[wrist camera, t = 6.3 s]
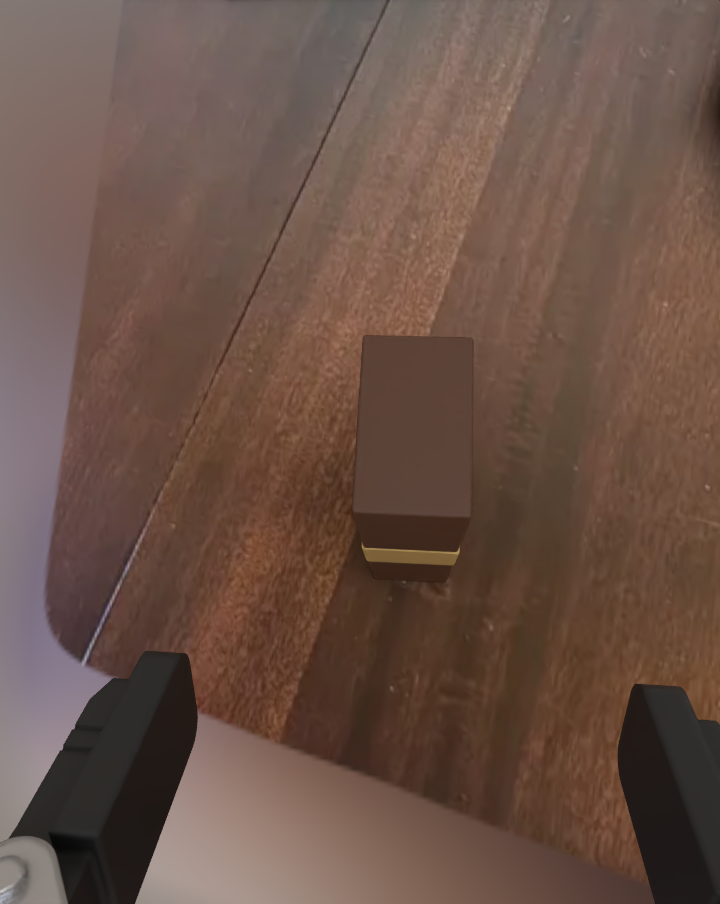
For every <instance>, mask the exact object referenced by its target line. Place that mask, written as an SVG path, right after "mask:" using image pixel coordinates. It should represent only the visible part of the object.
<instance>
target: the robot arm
mask: <svg viewBox="0 0 720 904" xmlns="http://www.w3.org/2000/svg"><path fill="white" fill-rule="evenodd" d="M197 719H198V716H197V706H196V699H195V693H194V686H193V680H192V673H191V667H190V661H189V657H188V655H187V654H186V653H173V652H157V651H146V652H144V653H143V654H142V655H141V657H140V659H139V661H138V663H137V664H136V666H135V668H134V670H133V672H132V674H131V676H130V678H129V679H117V678H113V679H112V680H111V681H110V682H108V684H106V685H105V686H104V687H103V688H102V689H101V690H100V691H98V692H97V693H96V694H95V695H94V696H93V697H92V698H91V699H90V700H89V701H88V703H87V705H86V707H85V708H84V710H83V712H82V714H81V715H80V717H79V719H78V721H77V722H76V724H75V729H74V730H72V731H71V733H70V735H69V736H68V738H67V740H66V741H65V743H64V746H63V750H62V751H60V752H59V754H58V755H57V757H56V759H55V761H54V762H53V764H52V766H51V768H50V769H49V771H48V773H47V774H46V776H45V778H44V780H43V781H42V783H41V785H40V787H39V788H38V790H37V792H36V794H35V795H34V797H33V799H32V801H31V803H30V804H29V806H28V808H27V809H26V811H25V813H24V815H23V816H22V818H21V820H20V822H19V823H18V825H17V827H16V828H15V830H14V831H13V833H12V834H11V836H10V837H9V839H7V840H4V841H2V842H0V904H135V902H136V899H137V896H138V893H139V891H140V888H141V885H142V883H143V880H144V877H145V875H146V872H147V869H148V867H149V864H150V861H151V859H152V856H153V853H154V851H155V848H156V845H157V842H158V840H159V837H160V834H161V832H162V829H163V826H164V824H165V821H166V818H167V815H168V813H169V810H170V807H171V805H172V802H173V799H174V797H175V794H176V791H177V788H178V786H179V783H180V780H181V778H182V775H183V772H184V770H185V767H186V764H187V761H188V759H189V756H190V753H191V751H192V748H193V744H194V741H195V737H196V731H197ZM618 769H619V776H620V781H621V785H622V788H623V792H624V795H625V799H626V802H627V806H628V809H629V813H630V816H631V820H632V823H633V827H634V830H635V834H636V837H637V841H638V845H639V848H640V852H641V855H642V859H643V862H644V866H645V869H646V873H647V876H648V880H649V883H650V887H651V890H652V894H653V897H654V901H655V904H720V725H719V724H718V723H717V722H716V721H710V720H697V717H696V715H695V713H694V711H693V708H692V706H691V704H690V701H689V699H688V697H687V695H686V693H685V691H684V690H683V689H682V688H681V687H677V686H662V685H646V684H635V685H634V686H633V688H632V690H631V694H630V698H629V702H628V706H627V710H626V715H625V719H624V723H623V727H622V731H621V736H620V740H619V745H618Z"/></svg>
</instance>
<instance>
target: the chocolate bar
mask: <svg viewBox="0 0 720 904" xmlns="http://www.w3.org/2000/svg"><path fill="white" fill-rule="evenodd" d="M473 343H474V341H473V338H466V337H422V336H377V335H365V336H364V337H363V342H362V358H361V373H360V388H359V404H358V419H357V434H356V450H355V465H354V480H353V495H352V513H353V516H354V519H355V522H356V525H357V528H358V531H359V534H360V537H361V540H362V549H363V552H364V555H365V558H366V560H367V561H369V564H370V567H371V570H372V573H373V576H374V578H375V579H386V580H405V581H425V582H446V580H447V578H448V575H449V572H450V570H451V567H452V565H455V562H456V560H457V557H458V555H459V553H460V545H461V542H462V540H463V537H464V534H465V532H466V529H467V527H468V524H469V522H470V519H471V517H472V453H473Z"/></svg>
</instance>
